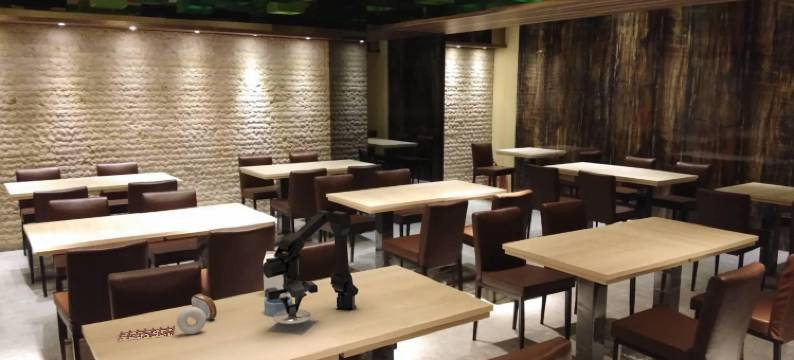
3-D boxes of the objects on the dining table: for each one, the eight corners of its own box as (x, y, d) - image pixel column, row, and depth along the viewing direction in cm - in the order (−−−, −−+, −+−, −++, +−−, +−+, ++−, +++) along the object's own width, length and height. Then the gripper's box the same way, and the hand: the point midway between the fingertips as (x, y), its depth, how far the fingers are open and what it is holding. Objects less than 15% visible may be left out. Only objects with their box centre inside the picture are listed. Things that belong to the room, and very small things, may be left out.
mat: (317, 322, 233) (317, 320, 233) (301, 335, 220) (301, 334, 220) (284, 318, 237) (284, 317, 237) (266, 331, 224) (266, 330, 224)
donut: (206, 330, 226) (204, 303, 224) (207, 333, 223) (206, 306, 221) (177, 334, 222) (175, 307, 220) (178, 337, 219) (176, 310, 217)
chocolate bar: (119, 335, 222) (119, 330, 222) (175, 329, 228) (175, 324, 227) (116, 343, 216) (116, 337, 215) (173, 336, 221) (173, 331, 220)
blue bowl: (297, 309, 247) (296, 296, 246) (284, 318, 236) (284, 305, 236) (272, 307, 250) (272, 293, 249) (259, 316, 239) (259, 302, 239)
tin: (217, 320, 235) (216, 299, 234) (210, 322, 233) (209, 301, 232) (197, 311, 245) (196, 291, 244) (190, 313, 243) (189, 293, 242)
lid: (316, 312, 232) (316, 300, 232) (301, 325, 219) (300, 312, 219) (284, 309, 236) (283, 297, 235) (266, 322, 223) (266, 309, 222)
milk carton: (279, 297, 261) (278, 254, 259) (264, 296, 263) (262, 253, 260) (286, 292, 268) (284, 250, 266) (270, 291, 270) (269, 249, 267)
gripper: (272, 281, 214) (274, 324, 216) (322, 273, 223) (323, 315, 225) (263, 273, 224) (265, 314, 226) (311, 266, 232) (313, 306, 235)
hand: (292, 312), depth 227 cm, fingers closed on lid, 3 cm apart
